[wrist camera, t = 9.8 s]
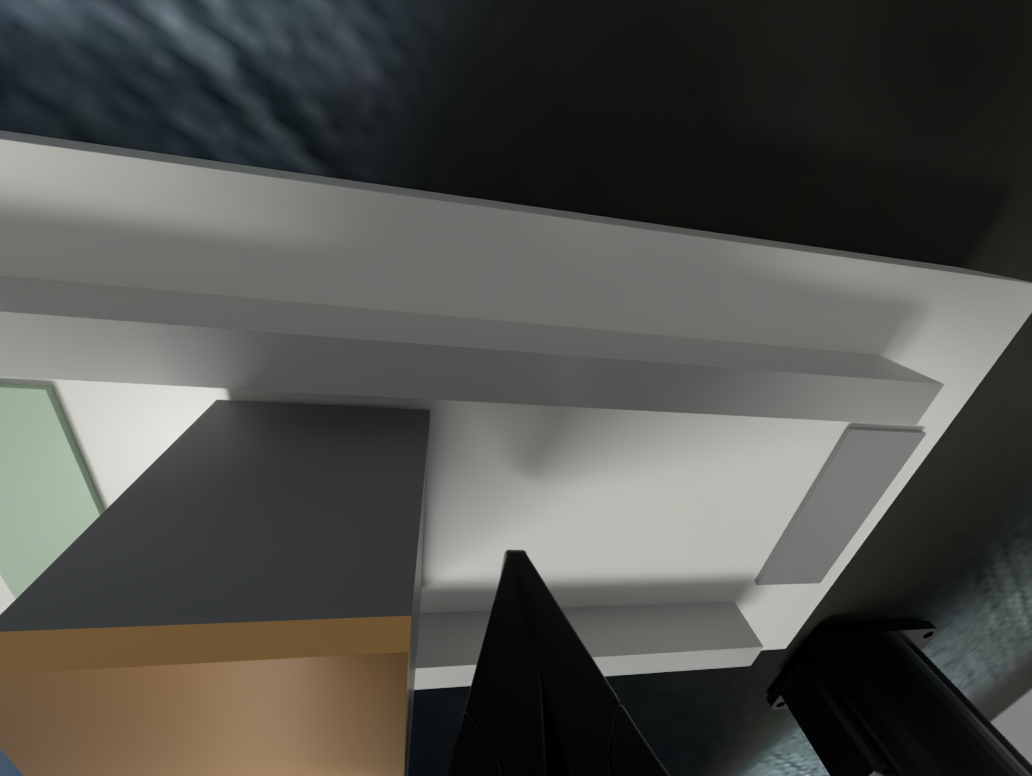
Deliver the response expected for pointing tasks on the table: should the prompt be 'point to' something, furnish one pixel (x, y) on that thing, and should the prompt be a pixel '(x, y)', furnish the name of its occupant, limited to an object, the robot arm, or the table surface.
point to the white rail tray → (488, 383)
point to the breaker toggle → (233, 607)
